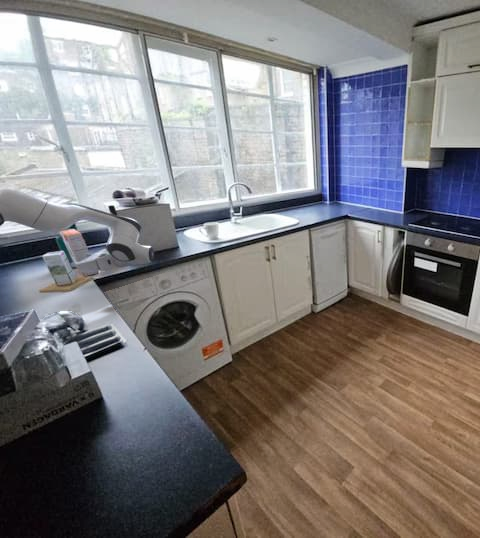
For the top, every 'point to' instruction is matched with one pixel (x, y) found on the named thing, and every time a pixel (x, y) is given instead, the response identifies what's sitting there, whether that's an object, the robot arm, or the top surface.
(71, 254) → the cracker box
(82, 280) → the cork mat
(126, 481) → the top surface
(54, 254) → the syrup box
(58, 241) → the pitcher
